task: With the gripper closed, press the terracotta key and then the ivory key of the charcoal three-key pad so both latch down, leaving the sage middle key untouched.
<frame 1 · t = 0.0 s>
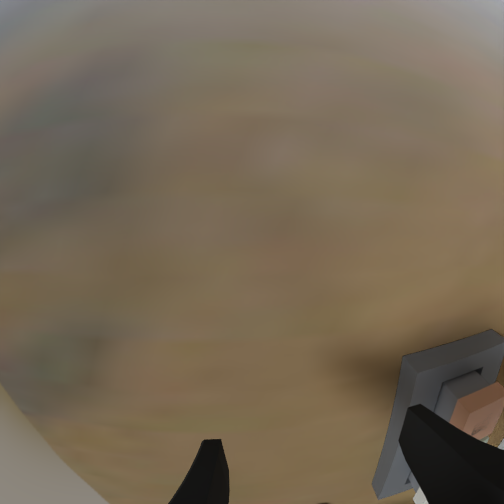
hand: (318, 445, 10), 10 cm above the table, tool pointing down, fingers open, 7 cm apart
sage key: (451, 447, 19), point 4 cm above the table, slide at 0.0 cm
ivory key: (435, 477, 20), point 4 cm above the table, slide at 0.0 cm
keypad plate: (431, 419, 23), on the table
terracotta key: (467, 407, 17), point 4 cm above the table, slide at 0.0 cm
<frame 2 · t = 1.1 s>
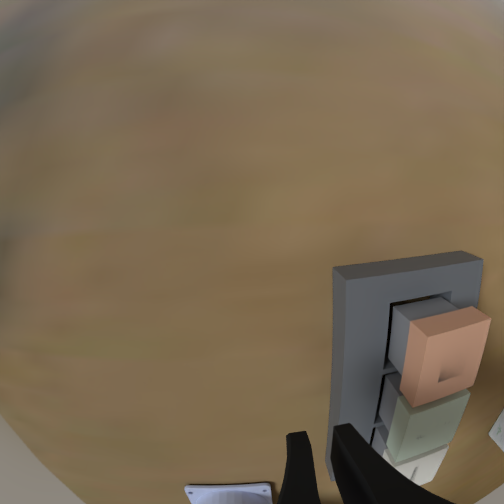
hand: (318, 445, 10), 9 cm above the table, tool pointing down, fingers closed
sage key: (418, 408, 16), point 4 cm above the table, slide at 0.0 cm
ivory key: (403, 454, 17), point 4 cm above the table, slide at 0.0 cm
keypad plate: (393, 374, 20), on the table
terracotta key: (433, 344, 15), point 4 cm above the table, slide at 0.0 cm
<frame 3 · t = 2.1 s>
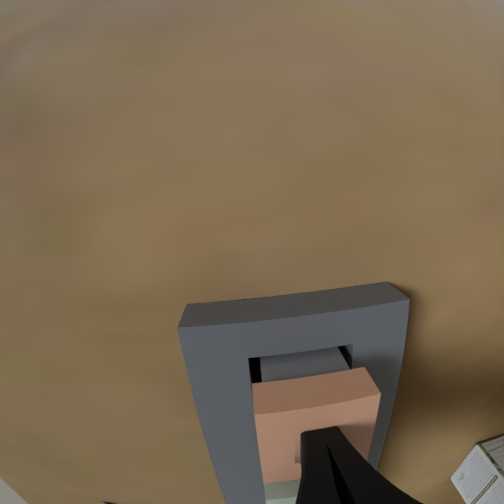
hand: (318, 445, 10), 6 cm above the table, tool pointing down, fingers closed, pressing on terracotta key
sage key: (307, 480, 13), point 4 cm above the table, slide at 0.0 cm
keypad plate: (296, 427, 17), on the table
syrup box: (477, 454, 20), on the table
terracotta key: (307, 409, 12), point 4 cm above the table, slide at 0.6 cm, touching gripper
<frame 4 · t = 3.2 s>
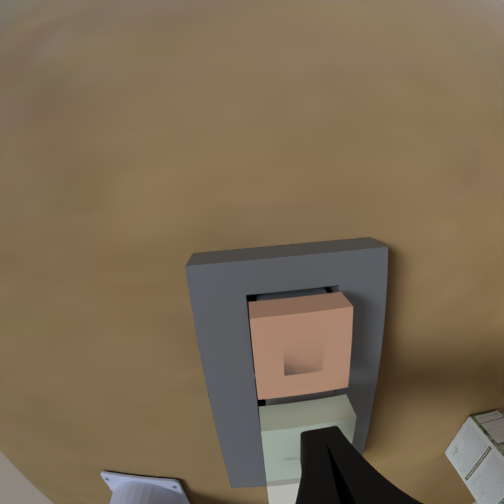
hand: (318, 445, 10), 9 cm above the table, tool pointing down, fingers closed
sage key: (301, 424, 15), point 4 cm above the table, slide at 0.0 cm
ivory key: (300, 472, 16), point 4 cm above the table, slide at 0.0 cm
keypad plate: (291, 379, 19), on the table
syrup box: (471, 429, 23), on the table
terracotta key: (295, 333, 15), point 3 cm above the table, slide at 1.6 cm
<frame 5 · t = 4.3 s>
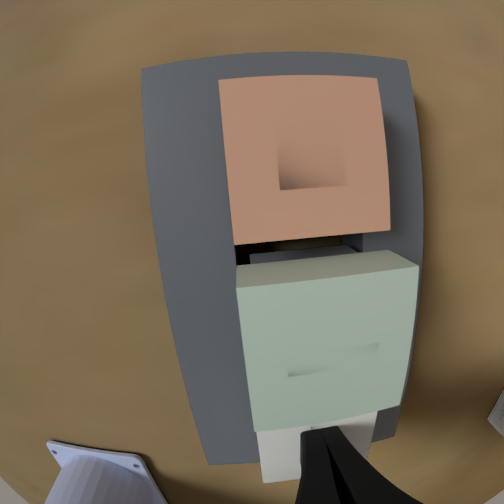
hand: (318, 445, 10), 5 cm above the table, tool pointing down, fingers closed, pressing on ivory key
sage key: (315, 321, 9), point 4 cm above the table, slide at 0.0 cm
ivory key: (307, 408, 12), point 3 cm above the table, slide at 1.4 cm, touching gripper
keypad plate: (292, 279, 14), on the table
terracotta key: (295, 159, 10), point 3 cm above the table, slide at 1.6 cm
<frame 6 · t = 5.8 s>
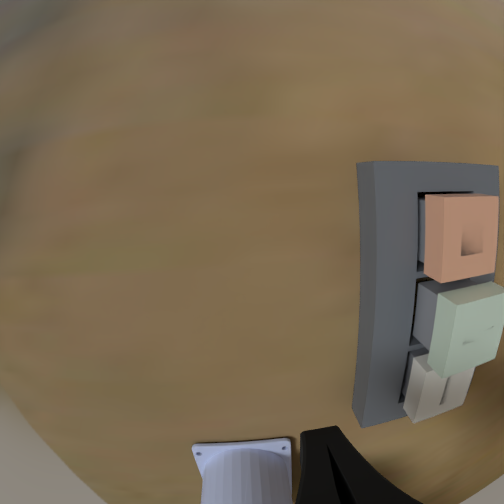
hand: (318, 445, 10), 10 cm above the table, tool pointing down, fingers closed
sage key: (457, 319, 15), point 4 cm above the table, slide at 0.0 cm
ivory key: (431, 372, 18), point 3 cm above the table, slide at 1.6 cm
keypad plate: (422, 294, 19), on the table
terracotta key: (449, 230, 16), point 3 cm above the table, slide at 1.6 cm
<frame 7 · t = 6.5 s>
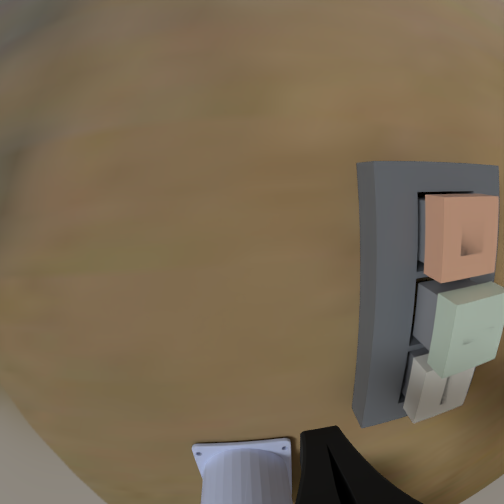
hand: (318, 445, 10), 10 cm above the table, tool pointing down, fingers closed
sage key: (457, 319, 15), point 4 cm above the table, slide at 0.0 cm
ivory key: (431, 372, 18), point 3 cm above the table, slide at 1.6 cm
keypad plate: (422, 294, 19), on the table
terracotta key: (449, 230, 16), point 3 cm above the table, slide at 1.6 cm
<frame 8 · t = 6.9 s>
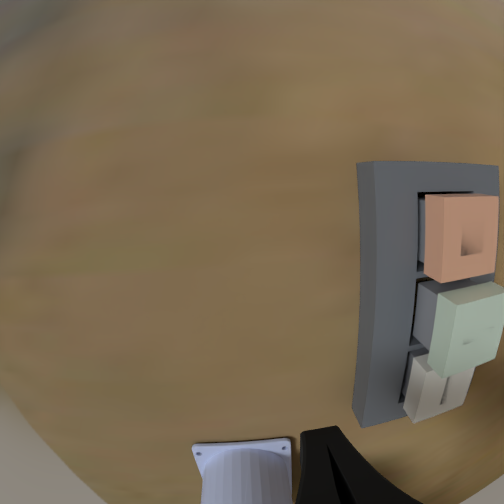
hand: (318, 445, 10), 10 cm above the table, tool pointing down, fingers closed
sage key: (457, 319, 15), point 4 cm above the table, slide at 0.0 cm
ivory key: (431, 372, 18), point 3 cm above the table, slide at 1.6 cm
keypad plate: (422, 294, 19), on the table
terracotta key: (449, 230, 16), point 3 cm above the table, slide at 1.6 cm
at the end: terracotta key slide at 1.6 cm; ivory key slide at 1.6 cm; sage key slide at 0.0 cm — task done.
